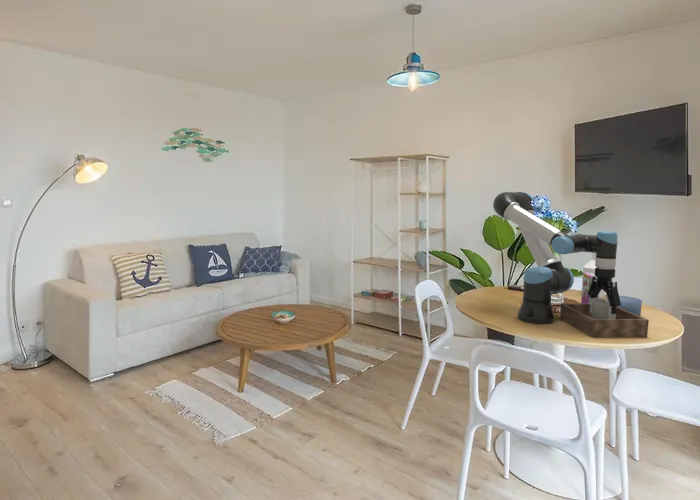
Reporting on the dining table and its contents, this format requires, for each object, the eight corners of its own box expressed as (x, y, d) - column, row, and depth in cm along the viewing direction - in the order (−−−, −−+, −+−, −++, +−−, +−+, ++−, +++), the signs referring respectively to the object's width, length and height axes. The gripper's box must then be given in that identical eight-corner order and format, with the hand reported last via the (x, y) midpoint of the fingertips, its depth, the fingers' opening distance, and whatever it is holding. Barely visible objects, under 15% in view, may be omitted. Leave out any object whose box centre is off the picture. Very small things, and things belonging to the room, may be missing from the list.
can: (588, 327, 189) (590, 299, 188) (593, 323, 195) (595, 297, 193) (607, 330, 184) (609, 303, 183) (612, 327, 189) (615, 300, 188)
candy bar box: (580, 303, 231) (582, 272, 229) (590, 303, 230) (593, 272, 228) (587, 308, 220) (589, 276, 218) (598, 308, 219) (600, 276, 217)
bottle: (586, 292, 257) (589, 249, 253) (608, 295, 248) (612, 251, 244) (577, 295, 249) (580, 251, 246) (600, 299, 240) (603, 253, 237)
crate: (591, 336, 176) (593, 320, 175) (559, 318, 202) (560, 303, 201) (647, 336, 176) (648, 320, 176) (608, 318, 203) (609, 303, 202)
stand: (617, 319, 200) (618, 302, 199) (599, 311, 214) (600, 295, 213) (647, 319, 201) (649, 302, 200) (627, 311, 214) (629, 295, 213)
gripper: (633, 272, 174) (629, 324, 176) (597, 263, 198) (594, 309, 201) (614, 272, 174) (610, 325, 176) (580, 263, 198) (578, 309, 201)
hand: (602, 316), depth 189 cm, fingers open, 13 cm apart
